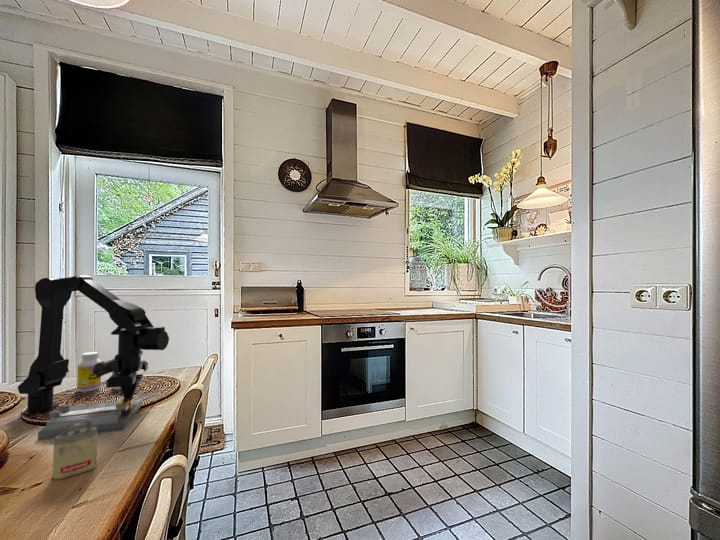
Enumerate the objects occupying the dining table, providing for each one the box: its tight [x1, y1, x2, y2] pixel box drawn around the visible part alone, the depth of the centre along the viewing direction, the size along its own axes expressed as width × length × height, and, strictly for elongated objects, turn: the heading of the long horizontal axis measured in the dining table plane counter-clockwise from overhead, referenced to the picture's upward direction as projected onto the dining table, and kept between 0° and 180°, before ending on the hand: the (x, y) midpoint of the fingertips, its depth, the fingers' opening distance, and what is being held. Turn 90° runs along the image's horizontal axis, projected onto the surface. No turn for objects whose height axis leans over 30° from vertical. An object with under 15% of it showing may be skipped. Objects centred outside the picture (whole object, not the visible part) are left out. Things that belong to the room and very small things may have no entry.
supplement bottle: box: [76, 351, 102, 393], centre depth 121 cm, size 7×7×13 cm
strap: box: [61, 404, 129, 418], centre depth 93 cm, size 16×3×1 cm, turn 110°
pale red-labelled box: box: [51, 419, 98, 480], centre depth 71 cm, size 7×4×10 cm, turn 134°
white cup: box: [111, 371, 121, 390], centre depth 125 cm, size 7×7×10 cm
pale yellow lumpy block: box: [115, 396, 135, 410], centre depth 98 cm, size 6×4×3 cm, turn 20°
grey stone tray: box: [37, 398, 143, 441], centre depth 95 cm, size 18×18×5 cm
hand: (128, 401), depth 102 cm, fingers closed
